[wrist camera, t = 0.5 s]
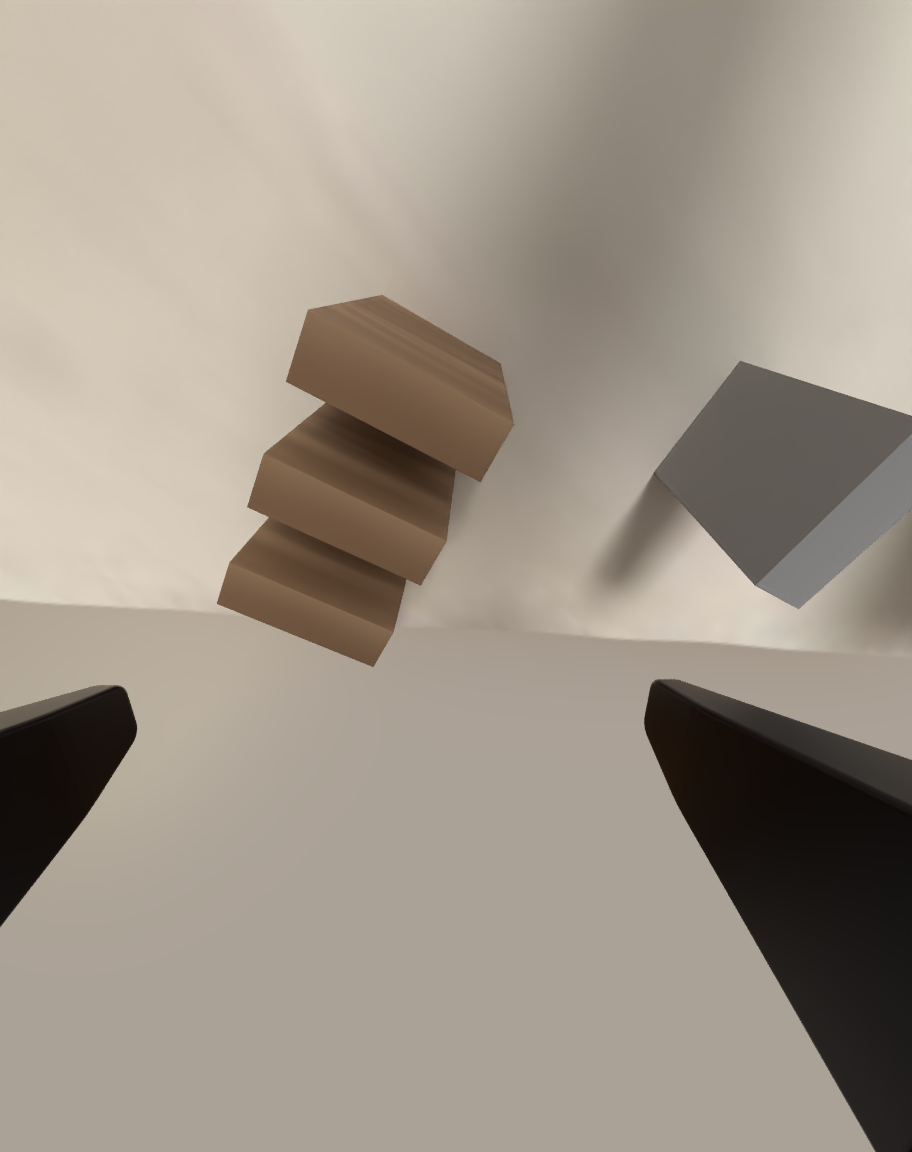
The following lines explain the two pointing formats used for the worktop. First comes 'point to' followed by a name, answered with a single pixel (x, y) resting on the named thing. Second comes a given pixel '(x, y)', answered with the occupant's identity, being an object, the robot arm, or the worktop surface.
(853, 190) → the worktop surface
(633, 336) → the worktop surface
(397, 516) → the walnut domino
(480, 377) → the walnut domino
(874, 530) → the charcoal domino
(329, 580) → the walnut domino
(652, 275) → the worktop surface
